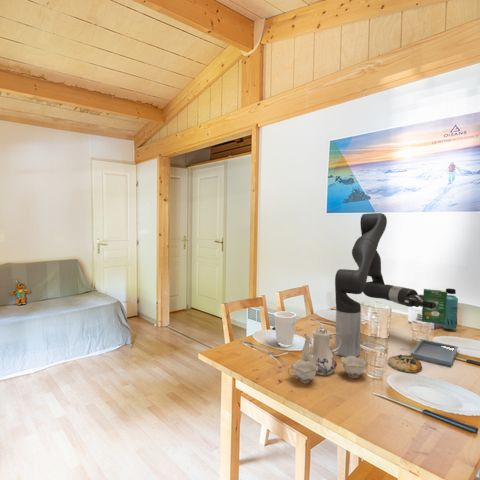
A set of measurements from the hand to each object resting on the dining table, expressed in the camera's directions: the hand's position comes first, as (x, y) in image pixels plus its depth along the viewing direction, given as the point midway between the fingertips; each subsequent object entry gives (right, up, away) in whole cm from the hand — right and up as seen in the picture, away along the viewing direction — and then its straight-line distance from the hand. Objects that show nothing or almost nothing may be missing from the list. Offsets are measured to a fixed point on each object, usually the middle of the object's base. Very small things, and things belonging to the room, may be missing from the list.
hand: (439, 305), depth 128 cm
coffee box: (-1, -8, +2) cm, 8 cm away
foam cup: (-58, -19, +12) cm, 63 cm away
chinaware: (-48, -21, -15) cm, 55 cm away
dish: (-1, -20, +1) cm, 20 cm away
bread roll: (-18, -21, -9) cm, 29 cm away
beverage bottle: (+23, -18, +30) cm, 42 cm away
